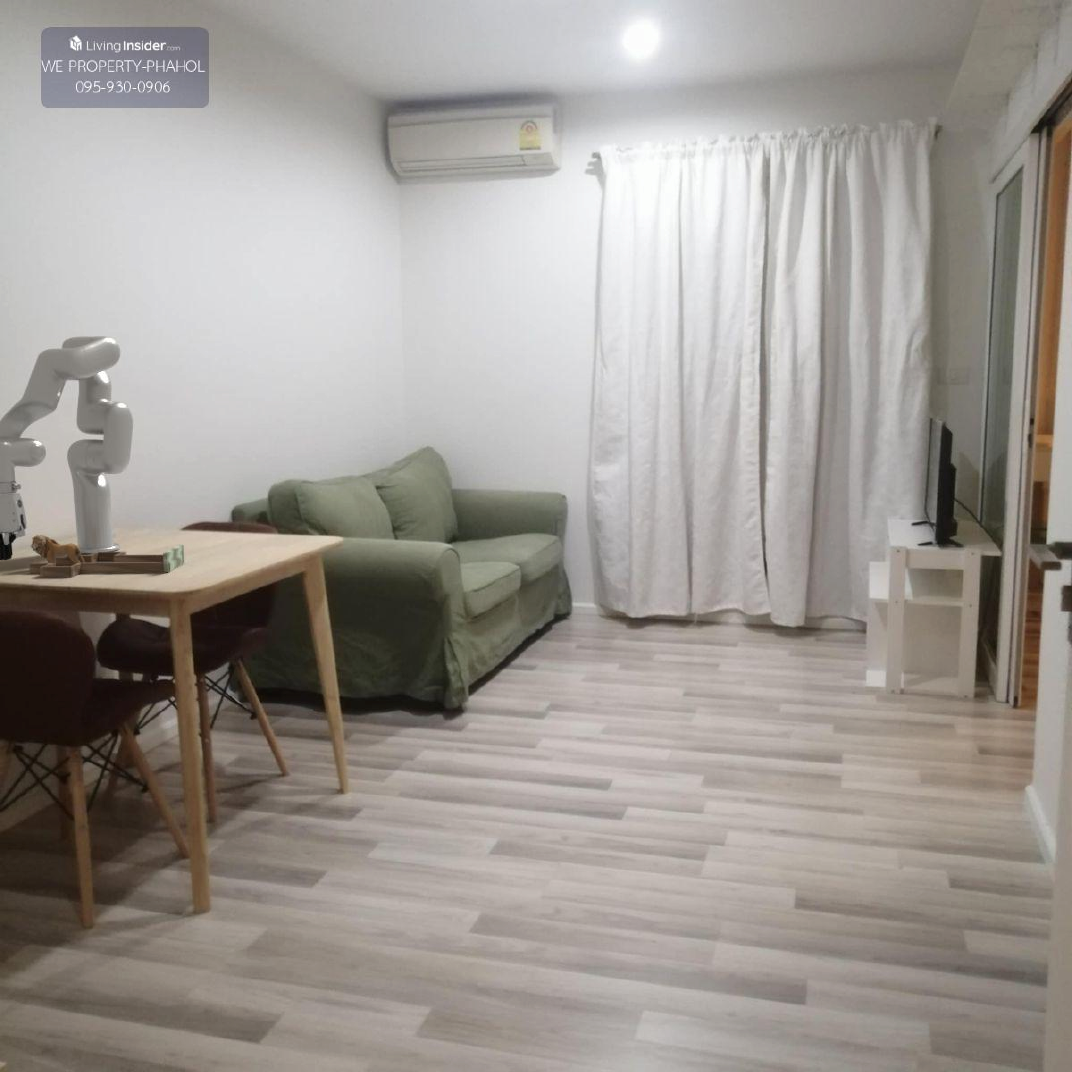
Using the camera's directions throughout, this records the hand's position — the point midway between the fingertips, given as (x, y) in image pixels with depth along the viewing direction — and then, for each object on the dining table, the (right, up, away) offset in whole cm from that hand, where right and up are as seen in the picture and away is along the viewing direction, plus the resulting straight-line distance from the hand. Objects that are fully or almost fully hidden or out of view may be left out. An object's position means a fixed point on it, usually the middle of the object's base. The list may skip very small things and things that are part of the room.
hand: (5, 559), depth 268 cm
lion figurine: (+14, -3, 0) cm, 14 cm away
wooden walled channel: (+26, -2, +1) cm, 27 cm away
